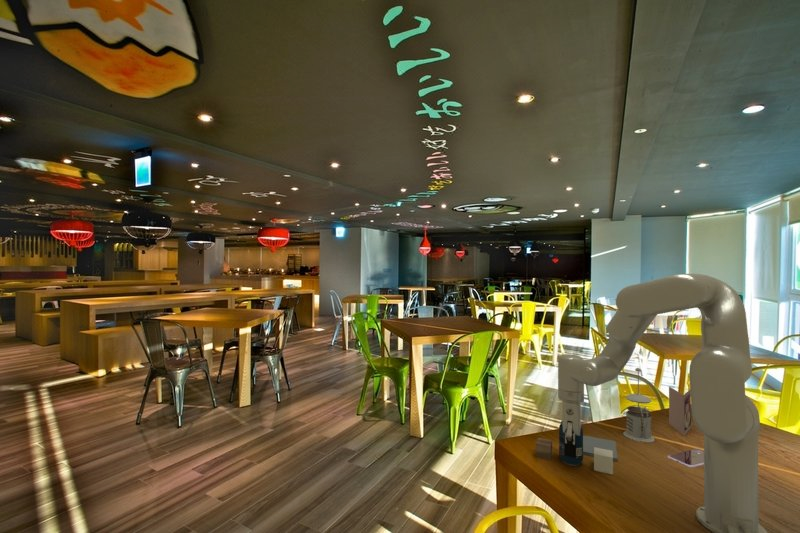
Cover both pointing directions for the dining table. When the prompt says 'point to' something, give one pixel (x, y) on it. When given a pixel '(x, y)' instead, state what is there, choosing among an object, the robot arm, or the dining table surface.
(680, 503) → the dining table surface
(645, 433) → the french press
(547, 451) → the walnut block
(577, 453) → the soda can
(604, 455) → the off-white block
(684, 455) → the mobile phone
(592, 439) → the mat
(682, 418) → the greeting card
